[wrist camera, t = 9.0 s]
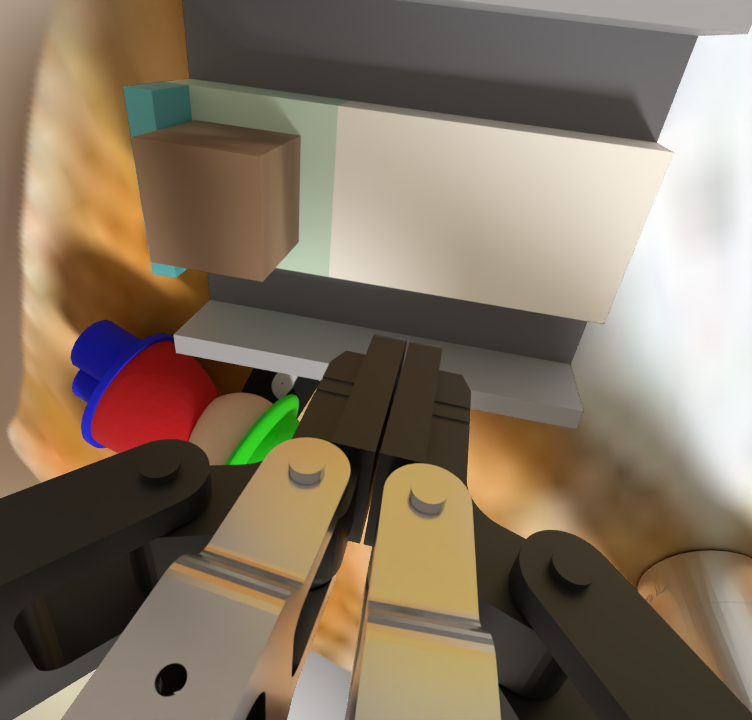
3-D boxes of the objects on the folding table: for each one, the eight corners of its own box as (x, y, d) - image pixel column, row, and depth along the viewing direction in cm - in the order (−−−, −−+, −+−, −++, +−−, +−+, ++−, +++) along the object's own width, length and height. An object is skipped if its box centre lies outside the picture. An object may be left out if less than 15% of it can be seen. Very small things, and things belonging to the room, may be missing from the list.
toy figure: (148, 366, 39) (311, 466, 38) (40, 445, 31) (239, 572, 30) (157, 273, 33) (350, 389, 32) (26, 344, 26) (271, 497, 24)
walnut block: (300, 135, 22) (259, 156, 18) (298, 242, 25) (262, 281, 21) (195, 119, 23) (131, 137, 18) (204, 226, 25) (151, 262, 21)
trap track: (706, 0, 20) (783, -16, 15) (562, 375, 30) (579, 441, 25) (183, -59, 22) (94, -89, 17) (215, 312, 32) (166, 362, 27)
